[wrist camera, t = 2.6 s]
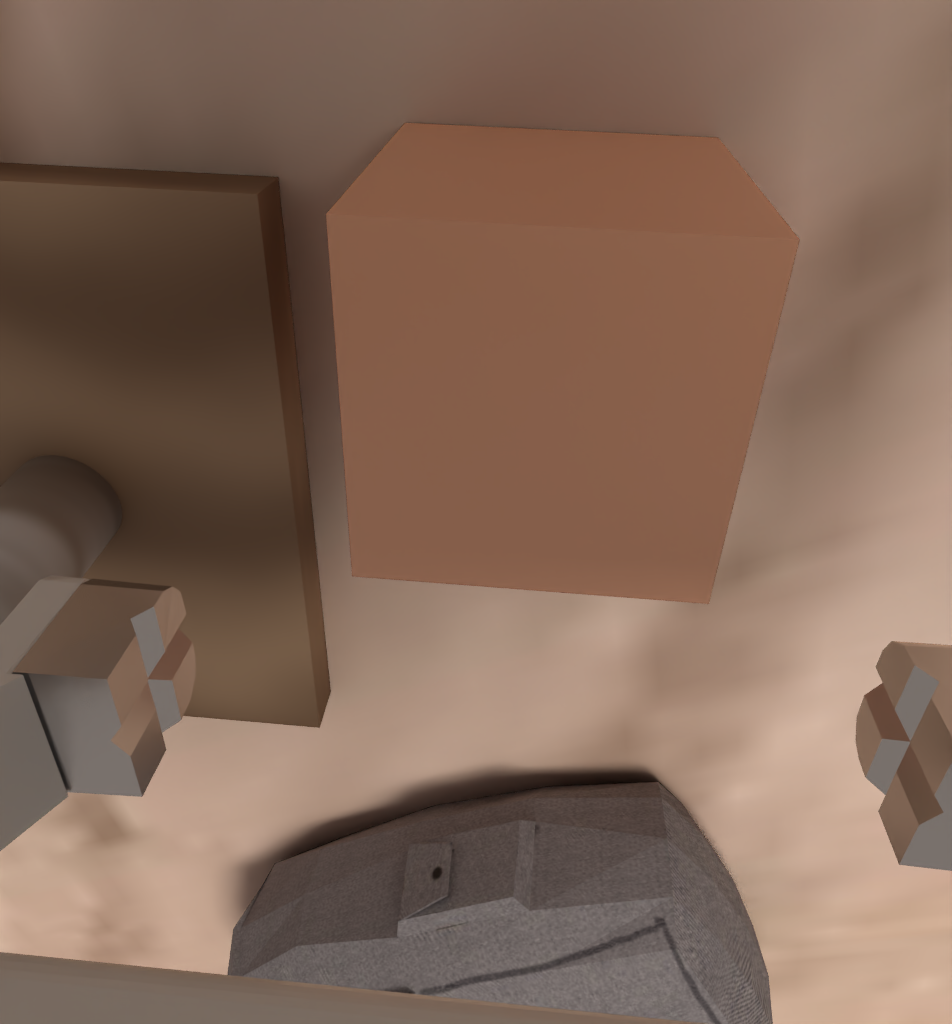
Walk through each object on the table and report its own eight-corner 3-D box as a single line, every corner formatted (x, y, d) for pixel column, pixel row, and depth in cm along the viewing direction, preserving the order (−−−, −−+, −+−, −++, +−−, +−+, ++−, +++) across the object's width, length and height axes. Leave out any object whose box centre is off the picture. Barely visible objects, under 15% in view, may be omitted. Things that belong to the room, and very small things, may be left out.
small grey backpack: (660, 706, 26) (177, 834, 33) (694, 974, 20) (76, 1069, 26) (788, 945, 34) (371, 1012, 40) (845, 1202, 27) (331, 1233, 33)
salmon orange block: (404, 122, 17) (326, 214, 11) (718, 137, 17) (800, 238, 11) (410, 400, 21) (352, 575, 15) (667, 417, 20) (708, 603, 15)
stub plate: (-247, 150, 19) (-573, 233, 13) (278, 177, 18) (158, 276, 13) (-23, 661, 28) (-163, 833, 22) (330, 691, 27) (274, 876, 22)
